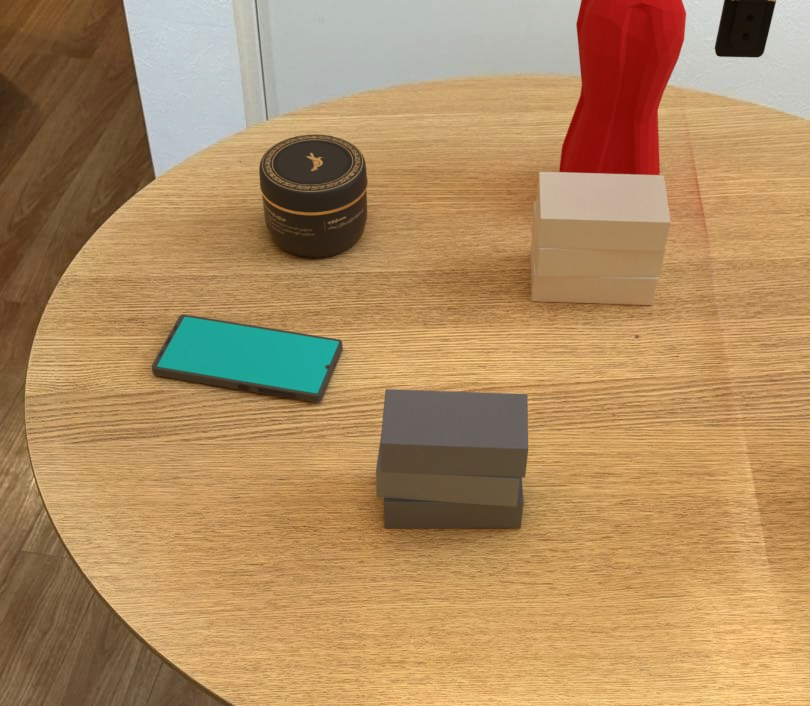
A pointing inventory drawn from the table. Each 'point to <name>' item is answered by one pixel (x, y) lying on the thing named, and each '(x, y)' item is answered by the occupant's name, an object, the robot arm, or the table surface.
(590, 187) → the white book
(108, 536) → the table surface
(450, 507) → the grey pile
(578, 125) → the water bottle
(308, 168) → the jar
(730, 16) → the robot arm
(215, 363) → the smartphone
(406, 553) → the table surface
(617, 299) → the white pile
